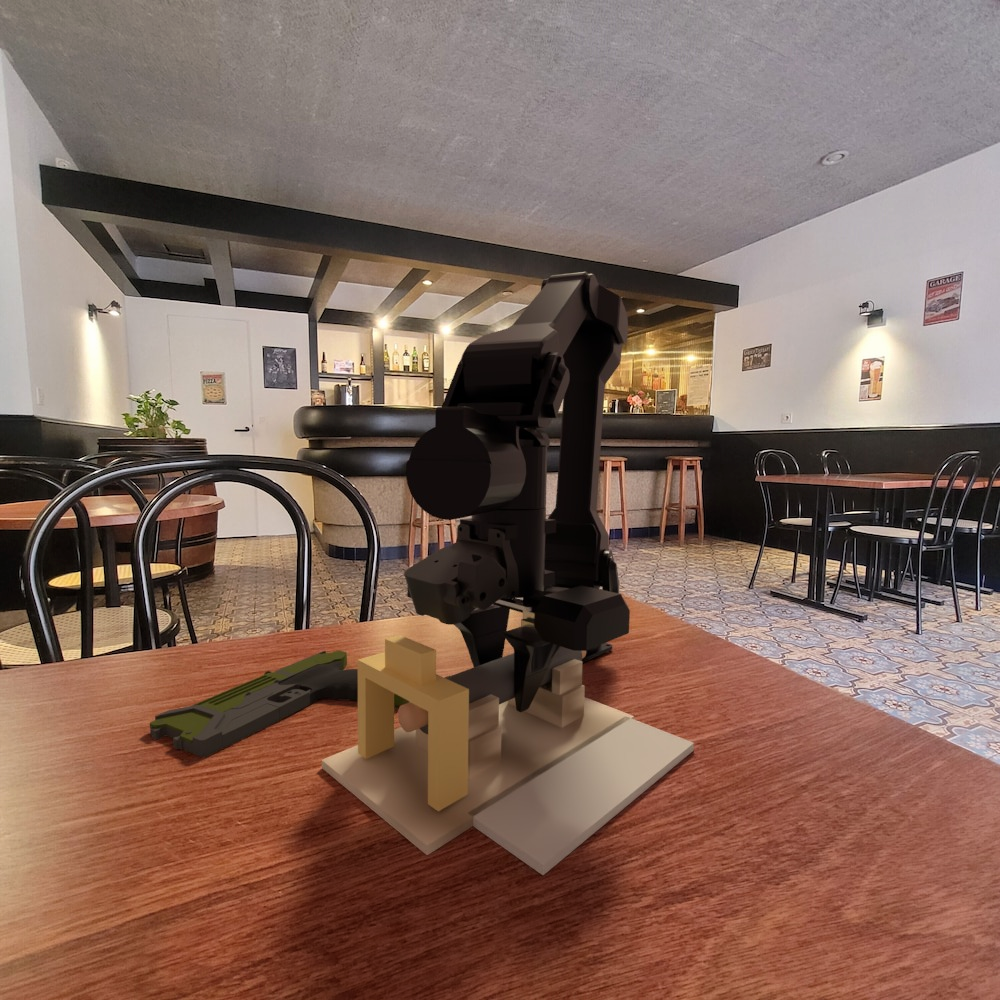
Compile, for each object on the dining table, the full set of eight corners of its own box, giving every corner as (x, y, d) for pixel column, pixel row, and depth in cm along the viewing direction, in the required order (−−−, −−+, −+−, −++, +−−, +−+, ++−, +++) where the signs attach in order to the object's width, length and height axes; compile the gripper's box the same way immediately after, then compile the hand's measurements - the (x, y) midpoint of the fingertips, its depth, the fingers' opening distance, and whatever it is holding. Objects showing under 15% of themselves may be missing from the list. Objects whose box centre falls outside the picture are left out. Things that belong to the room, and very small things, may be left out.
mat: (625, 722, 47) (625, 716, 47) (693, 750, 42) (693, 742, 42) (467, 822, 34) (467, 812, 34) (542, 875, 30) (543, 864, 30)
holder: (527, 680, 55) (528, 629, 54) (633, 723, 47) (636, 663, 46) (321, 767, 39) (321, 697, 39) (427, 855, 31) (427, 766, 30)
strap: (386, 741, 41) (386, 624, 41) (467, 794, 35) (469, 657, 34) (357, 753, 40) (357, 632, 39) (438, 811, 33) (439, 668, 33)
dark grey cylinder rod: (563, 661, 52) (564, 627, 51) (592, 671, 49) (593, 636, 49) (391, 732, 38) (391, 687, 38) (420, 750, 36) (420, 703, 35)
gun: (267, 802, 37) (140, 746, 44) (436, 691, 53) (323, 664, 60) (265, 766, 36) (138, 715, 44) (435, 666, 53) (322, 641, 60)
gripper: (351, 503, 43) (352, 695, 44) (531, 528, 30) (525, 799, 32) (458, 496, 51) (456, 660, 52) (637, 514, 38) (629, 731, 39)
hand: (505, 702), depth 44 cm, fingers open, 3 cm apart
